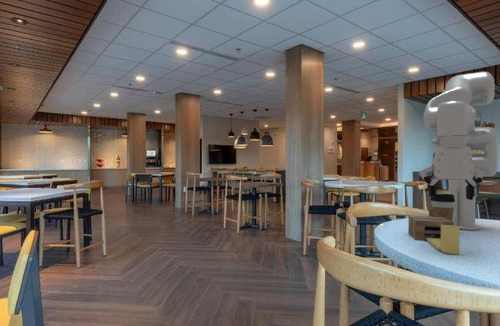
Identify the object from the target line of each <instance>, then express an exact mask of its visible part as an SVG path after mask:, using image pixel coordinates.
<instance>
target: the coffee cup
mask: <svg viewBox="0 0 500 326" xmlns="http://www.w3.org/2000/svg"><path fill="white" fill-rule="evenodd" d="M430 202H431V206H430V208H431V215H432V216H431V217H444V218H446V219H448V220H450V221H452V219H453V211H454V207H453V205H454V202H455V199H454V195H452V194H449V193H439V194H438V193H436V199H433V198H431V197H430Z"/></svg>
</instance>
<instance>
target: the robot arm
mask: <svg viewBox="0 0 500 326" xmlns="http://www.w3.org/2000/svg"><path fill="white" fill-rule="evenodd" d="M495 87H496V86H495V78H494V76H493V75H492V74H491V72H488V71H478V72H477V71H476V72H472V73H464V74H458V75H455V76H453V77H451V78H450V79H448V81H447V83H446V86H445V89H444V90H443V91H442V93H440V94H439V95H437V96H435V97H433V98H432V99H430V100H429V101H428V102H427V103H426V107H425V109H424V113H423V118H422V119H423V124H424V126H425V127H426V128H427V129H428V130H436V137H435V138H432V139H431V144H435V145H436V146H435V147H434V149H433V154H432V160H431V165H430V166H428V167H425V168H424V169H421V170H420V171H419V175H420V176H421V178H422V180H423V181H424V182H425V183H426V184H427V185H428V195H429V196H430V198H433V199H436V195H437V185H436V184H437V182H438V181H440V180H443V181H448V194H452V195H454V199H455V202H454V205H453V207H454V211H453V219H452V222H454V225H456V226H458V227H459V230H463V231H464V230H465V231H478V230H481V227H480V225H477V224H476V187H477V185H478V184H479V183H481V182H482V179H483V178H484V177H493V176H495V175H496V174H497V172H498V165H499V163H498V159H499V158H498V157H499V156H498V151H499V150H498V148H499V147H498V135H497V131H496V129H494V128H493V127H490V126H481V127H478V126H477V127H476V126H475V122H476V119H477V111H476V109H475V108H474V107H476V106H477V107H478V106H487V105H489V104H492V102H493V101H494V99H495V92H496V91H495ZM472 151H481V152H482V153H472ZM429 172H431V177H428V176H427V174H428V173H429Z"/></svg>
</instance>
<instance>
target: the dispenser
mask: <svg viewBox="0 0 500 326" xmlns="http://www.w3.org/2000/svg"><path fill="white" fill-rule="evenodd" d="M441 225H454V222H452V221H450V220H448V219H446V218H444V217H432V216H426V215H425V216H424V215H423V216H421V215H408V235H409V236H410V237H411V238H413V239H414V240H415V241H425V240H426V236H428V237H429V236H430V237H431V236H432V237H433V236H434V237H435V238H441Z"/></svg>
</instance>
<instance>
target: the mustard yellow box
mask: <svg viewBox="0 0 500 326" xmlns="http://www.w3.org/2000/svg"><path fill="white" fill-rule="evenodd" d="M425 240H426V241H427V242H428V243H429V244H431V245H432V246H433V247H434V248H436V249H437V250H438V251H441V252H442V253H443V254H453V255H460V229H459V227H458V226H456V225H441V238H438V237H431V236H430V237H429V236H428V237H427V236H425Z"/></svg>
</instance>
